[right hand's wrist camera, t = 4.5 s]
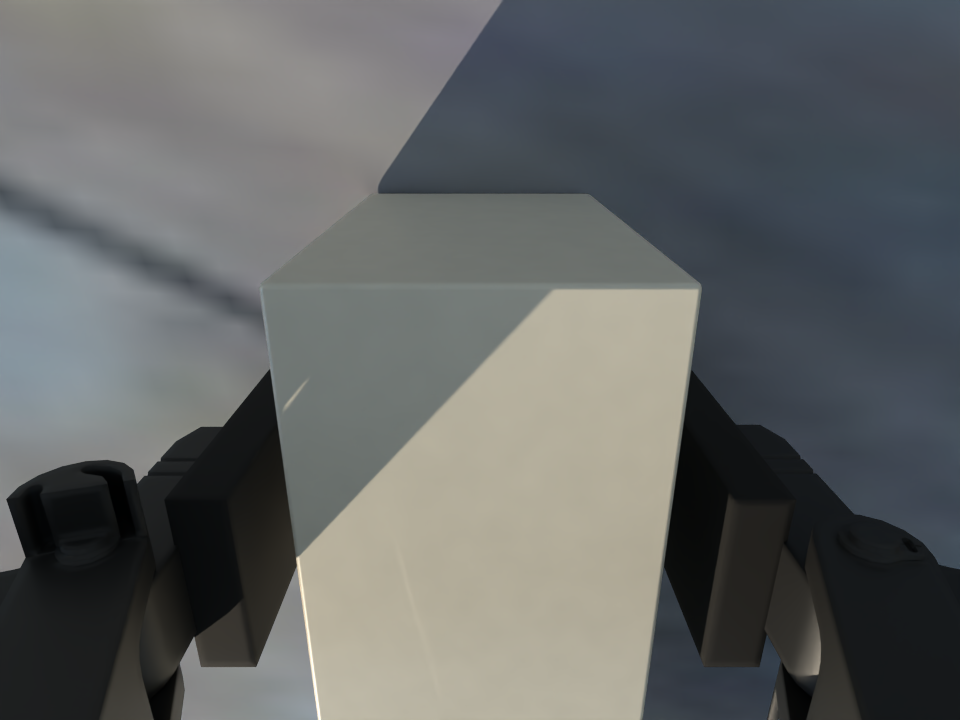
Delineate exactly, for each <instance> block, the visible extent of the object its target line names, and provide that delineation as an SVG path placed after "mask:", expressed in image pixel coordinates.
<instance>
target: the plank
mask: <svg viewBox="0 0 960 720" xmlns="http://www.w3.org/2000/svg"><path fill="white" fill-rule="evenodd" d="M259 291H260V298H261V305H262V313H263V320H264V327H265V335H266V342H267V349H268V357H269V364H270V371H271V379H272V386H273V393H274V400H275V408H276V415H277V422H278V430H279V437H280V444H281V452H282V459H283V466H284V474H285V481H286V488H287V496H288V503H289V510H290V518H291V525H292V532H293V539H294V547H295V554H296V561H297V569H298V576H299V583H300V591H301V598H302V605H303V613H304V620H305V627H306V635H307V642H308V649H309V657H310V664H311V671H312V678H313V686H314V693H315V700H316V708H317V715H318V720H643V713H644V706H645V698H646V691H647V684H648V677H649V669H650V662H651V655H652V648H653V640H654V633H655V626H656V619H657V612H658V604H659V597H660V590H661V583H662V575H663V568H664V561H665V554H666V546H667V539H668V532H669V525H670V518H671V510H672V503H673V496H674V489H675V481H676V474H677V467H678V460H679V452H680V445H681V438H682V431H683V423H684V416H685V409H686V402H687V395H688V387H689V380H690V373H691V366H692V358H693V351H694V344H695V337H696V329H697V322H698V315H699V308H700V301H701V293H702V287H701V284H700V283H699V282H698V281H697V280H695V279H694V278H693V277H692V276H690V275H689V274H688V273H687V272H685V271H684V270H683V269H682V268H680V267H679V266H678V265H677V264H675V263H674V262H673V261H672V260H670V259H669V258H668V257H667V256H666V255H664V254H663V253H662V252H661V251H659V250H658V249H657V248H656V247H654V246H653V245H652V244H651V243H649V242H648V241H647V240H646V239H644V238H643V237H642V236H641V235H639V234H638V233H637V232H636V231H634V230H633V229H632V228H631V227H629V226H628V225H627V224H626V223H624V222H623V221H622V220H621V219H619V218H618V217H617V216H616V215H614V214H613V213H612V212H611V211H609V210H608V209H607V208H606V207H604V206H603V205H602V204H601V203H600V202H598V201H597V200H596V199H595V198H593V197H592V196H591V195H589V194H371V195H369V196H368V197H367V198H366V199H364V200H363V201H362V202H361V203H359V204H358V205H357V206H356V207H355V208H353V209H352V210H351V211H350V212H348V213H347V214H346V215H345V216H343V217H342V218H341V219H340V220H339V221H337V222H336V223H335V224H334V225H332V226H331V227H330V228H329V229H327V230H326V231H325V232H324V233H323V234H321V235H320V236H319V237H318V238H316V239H315V240H314V241H313V242H311V243H310V244H309V245H308V246H307V247H305V248H304V249H303V250H302V251H300V252H299V253H298V254H297V255H295V256H294V257H293V258H292V259H290V260H289V261H288V262H287V263H286V264H284V265H283V266H282V267H281V268H279V269H278V270H277V271H276V272H274V273H273V274H272V275H271V276H270V277H268V278H267V279H266V280H265V281H263V282H262V283H261V284H260V288H259Z"/></svg>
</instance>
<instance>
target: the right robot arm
mask: <svg viewBox="0 0 960 720" xmlns="http://www.w3.org/2000/svg"><path fill="white" fill-rule="evenodd" d="M6 500H7V503H8V506H9V509H10V512H11V515H12V518H13V521H14V524H15V527H16V530H17V533H18V536H19V539H20V542H21V545H22V548H23V551H24V554H25V557H26V558H25V560H24V562H23V564H22V566H21V568H19V569H15V570H10V571H5V572H0V720H181V714H182V706H183V699H184V691H185V689H184V682H183V676H182V671H181V667H180V661H181V659H182V657H183V656H184V654H185V652H186V650H187V648H188V646H189V645H190V643H191V641H192V639H193V637H195V641H196V646H197V650H198V655H199V659H200V664H201V667H256V666H257V664H258V661H259V659H260V656H261V654H262V651H263V649H264V646H265V644H266V641H267V639H268V636H269V634H270V631H271V629H272V626H273V624H274V621H275V619H276V616H277V614H278V611H279V609H280V606H281V604H282V601H283V599H284V596H285V594H286V591H287V589H288V586H289V584H290V581H291V579H292V576H293V574H294V571H295V569H296V566H297V561H296V554H295V547H294V539H293V532H292V525H291V518H290V510H289V503H288V496H287V488H286V481H285V474H284V466H283V459H282V452H281V444H280V437H279V430H278V422H277V415H276V408H275V400H274V393H273V386H272V379H271V371H270V369H269V371H268V372H267V373H266V374H265V376H264V377H263V378H262V379H261V381H260V382H259V383H258V384H257V385H256V387H255V388H254V389H253V390H252V392H251V393H250V394H249V395H248V397H247V398H246V399H245V400H244V402H243V403H242V404H241V405H240V406H239V408H238V409H237V410H236V411H235V413H234V414H233V415H232V416H231V418H230V419H229V420H228V421H227V423H226V424H225V425H224V426H223V427H200V428H198V429H197V430H195V431H193V432H192V433H190V434H188V435H186V436H185V437H183V438H181V439H179V440H178V441H176V442H175V443H174V444H173V445H172V447H171V448H170V449H169V450H168V451H167V452H166V453H165V454H164V455H163V456H162V457H161V462H157V463H156V464H155V465H154V466H153V467H152V468H151V469H150V471H149V472H148V476H144V477H143V478H142V479H141V480H140V482H139V483H138V484H137V483H136V479H135V474H134V470H133V469H132V468H130V467H129V466H127V465H126V464H125V463H121V462H115V461H110V460H100V461H85V462H81V463H76V464H71V465H67V466H62V467H60V468H57V469H54V470H52V471H49V472H46V473H44V474H41V475H38V476H37V477H35V478H33V479H31V480H30V481H28V482H26V483H25V484H23V485H21V486H19V487H18V488H17V489H16V490H15V491H14V492H13V493H12V494H11V495H10V496H9V497H8V498H7V499H6ZM664 568H665V570H666V573H667V575H668V578H669V580H670V583H671V585H672V588H673V590H674V593H675V595H676V598H677V600H678V603H679V605H680V608H681V610H682V612H683V615H684V617H685V620H686V622H687V625H688V627H689V630H690V632H691V635H692V637H693V640H694V642H695V645H696V647H697V650H698V652H699V655H700V657H701V660H702V662H703V665H704V667H759V666H760V662H761V657H762V653H763V648H764V644H765V639H766V635H768V637H769V638H770V640H771V642H772V644H773V646H774V648H775V649H776V651H777V653H778V655H779V657H780V659H781V663H780V667H779V671H778V676H777V680H776V684H775V688H774V692H773V696H772V701H771V705H770V709H769V713H768V718H767V720H778V719H779V720H960V569H955V568H950V567H945V566H941V565H938V563H937V561H936V559H935V557H934V556H933V555H932V553H931V552H930V551H929V550H928V549H927V547H926V546H925V545H924V544H923V543H922V542H921V541H919V540H918V539H916V538H915V537H913V536H912V535H910V534H909V533H907V532H906V531H904V530H902V529H900V528H898V527H895V526H893V525H891V524H889V523H886V522H884V521H881V520H877V519H873V518H870V517H866V516H862V515H854V514H853V513H852V512H851V510H850V509H849V508H848V507H847V506H846V505H845V504H844V503H843V502H842V501H841V500H840V499H839V497H838V496H837V495H836V494H835V493H834V492H833V491H832V490H831V489H830V488H829V487H828V486H827V484H826V483H825V482H824V481H823V480H822V479H821V478H820V477H819V476H818V475H817V474H813V469H812V468H811V467H810V466H809V465H808V464H807V463H806V462H805V461H804V460H803V459H800V455H799V454H798V453H797V452H796V451H795V450H794V449H793V448H792V447H791V445H790V444H789V443H788V442H787V441H786V440H785V439H783V438H782V437H780V436H778V435H776V434H775V433H773V432H771V431H770V430H768V429H766V428H764V427H763V426H761V425H736V424H735V423H734V422H733V421H732V419H731V418H730V417H729V416H728V415H727V413H726V412H725V411H724V410H723V408H722V407H721V406H720V405H719V403H718V402H717V401H716V400H715V398H714V397H713V396H712V395H711V394H710V392H709V391H708V390H707V389H706V387H705V386H704V385H703V384H702V382H701V381H700V380H699V379H698V377H697V376H696V375H695V374H694V373H693V371H692V370H691V373H690V380H689V387H688V395H687V402H686V409H685V416H684V423H683V431H682V438H681V445H680V452H679V460H678V467H677V474H676V481H675V489H674V496H673V503H672V510H671V518H670V525H669V532H668V539H667V546H666V554H665V561H664Z"/></svg>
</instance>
